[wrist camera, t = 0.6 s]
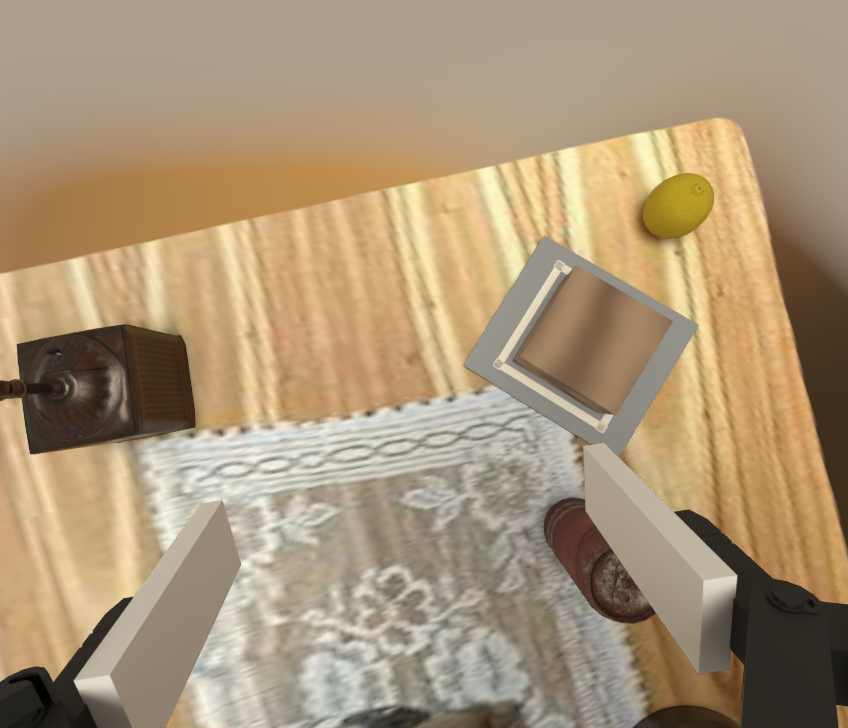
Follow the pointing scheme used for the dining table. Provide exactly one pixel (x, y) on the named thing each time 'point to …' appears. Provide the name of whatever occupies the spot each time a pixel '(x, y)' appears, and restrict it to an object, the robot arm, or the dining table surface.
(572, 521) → the can
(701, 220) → the lemon
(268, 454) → the dining table surface
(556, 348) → the walnut plinth
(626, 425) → the grey base plate
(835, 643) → the robot arm
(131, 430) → the manual coffee grinder
